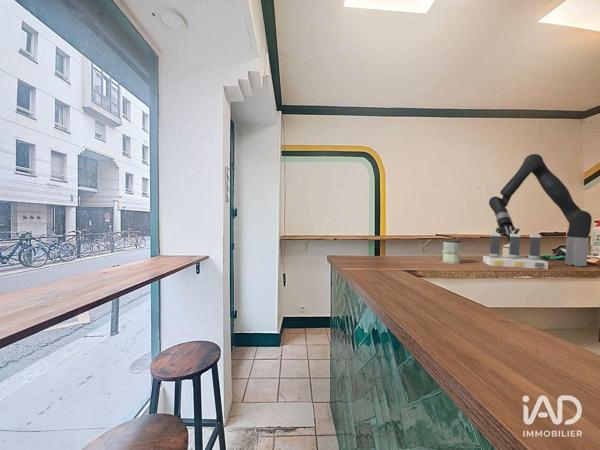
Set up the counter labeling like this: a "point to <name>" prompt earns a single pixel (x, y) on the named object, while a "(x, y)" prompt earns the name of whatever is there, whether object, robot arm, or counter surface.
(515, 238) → the lever middle
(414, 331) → the counter surface
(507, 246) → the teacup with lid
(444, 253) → the coffee can
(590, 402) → the counter surface
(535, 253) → the lever near
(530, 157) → the robot arm
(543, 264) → the console
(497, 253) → the lever far
